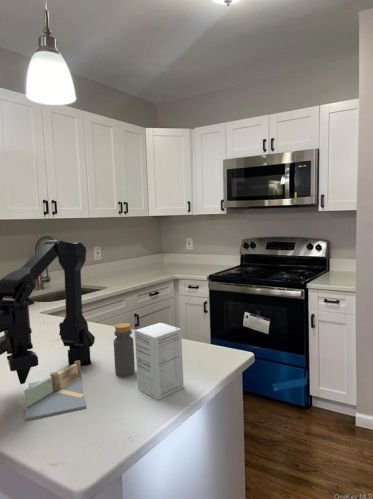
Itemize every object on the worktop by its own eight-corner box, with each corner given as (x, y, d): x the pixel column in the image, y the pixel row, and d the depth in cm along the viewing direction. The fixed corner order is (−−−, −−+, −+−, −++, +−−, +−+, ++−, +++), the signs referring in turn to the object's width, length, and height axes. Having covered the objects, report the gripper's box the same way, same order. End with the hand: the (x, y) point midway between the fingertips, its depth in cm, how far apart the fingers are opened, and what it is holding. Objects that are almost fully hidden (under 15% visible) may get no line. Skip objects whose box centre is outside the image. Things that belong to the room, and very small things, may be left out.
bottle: (117, 379, 106) (115, 329, 104) (113, 371, 111) (110, 324, 110) (137, 375, 108) (134, 326, 107) (132, 367, 113) (129, 321, 112)
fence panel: (49, 391, 98) (48, 376, 97) (52, 391, 97) (51, 377, 97) (25, 405, 90) (23, 390, 90) (28, 406, 90) (27, 391, 89)
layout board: (80, 375, 109) (80, 373, 109) (87, 407, 90) (87, 405, 90) (29, 385, 104) (29, 382, 104) (24, 421, 85) (24, 418, 85)
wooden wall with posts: (82, 377, 108) (81, 360, 107) (55, 394, 98) (54, 376, 97) (77, 376, 108) (75, 359, 108) (49, 393, 98) (48, 375, 98)
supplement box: (163, 377, 106) (161, 321, 104) (184, 388, 99) (182, 328, 97) (136, 389, 99) (133, 329, 98) (157, 401, 92) (154, 337, 91)
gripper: (-19, 322, 97) (-14, 378, 98) (-17, 341, 81) (-11, 408, 82) (26, 315, 103) (30, 368, 104) (36, 332, 87) (41, 394, 88)
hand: (22, 383), depth 94 cm, fingers closed
